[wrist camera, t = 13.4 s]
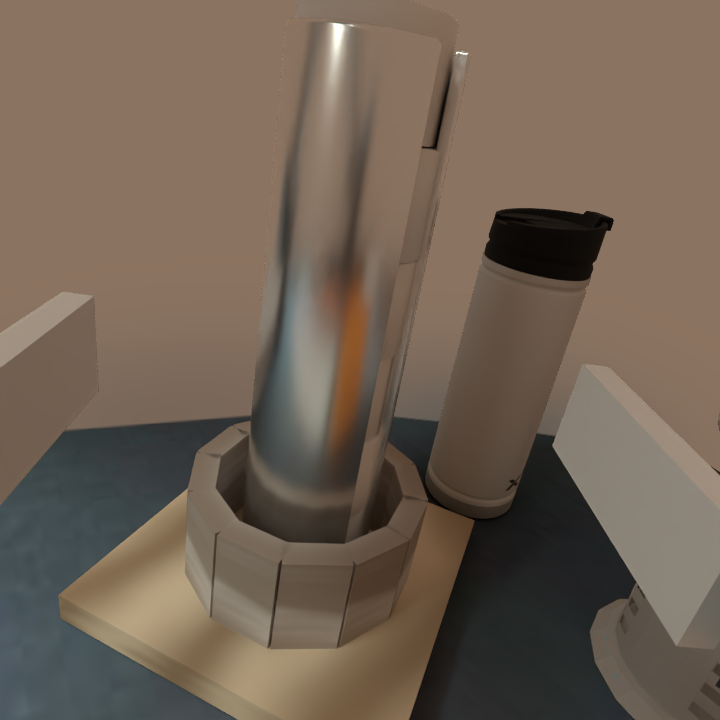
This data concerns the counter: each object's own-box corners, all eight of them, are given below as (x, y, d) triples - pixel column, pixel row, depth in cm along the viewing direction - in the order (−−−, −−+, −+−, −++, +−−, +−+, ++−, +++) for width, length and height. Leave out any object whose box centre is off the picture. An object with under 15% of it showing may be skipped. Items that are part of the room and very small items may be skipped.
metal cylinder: (250, 615, 25) (320, -36, 15) (230, 518, 30) (270, -8, 20) (379, 591, 27) (517, 18, 17) (339, 505, 33) (426, 31, 22)
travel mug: (529, 523, 37) (640, 227, 28) (436, 518, 35) (523, 209, 27) (497, 466, 42) (582, 206, 34) (416, 461, 41) (483, 190, 33)
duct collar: (60, 618, 25) (49, 507, 22) (252, 452, 39) (259, 371, 36) (381, 801, 20) (417, 690, 18) (468, 538, 34) (496, 454, 32)
